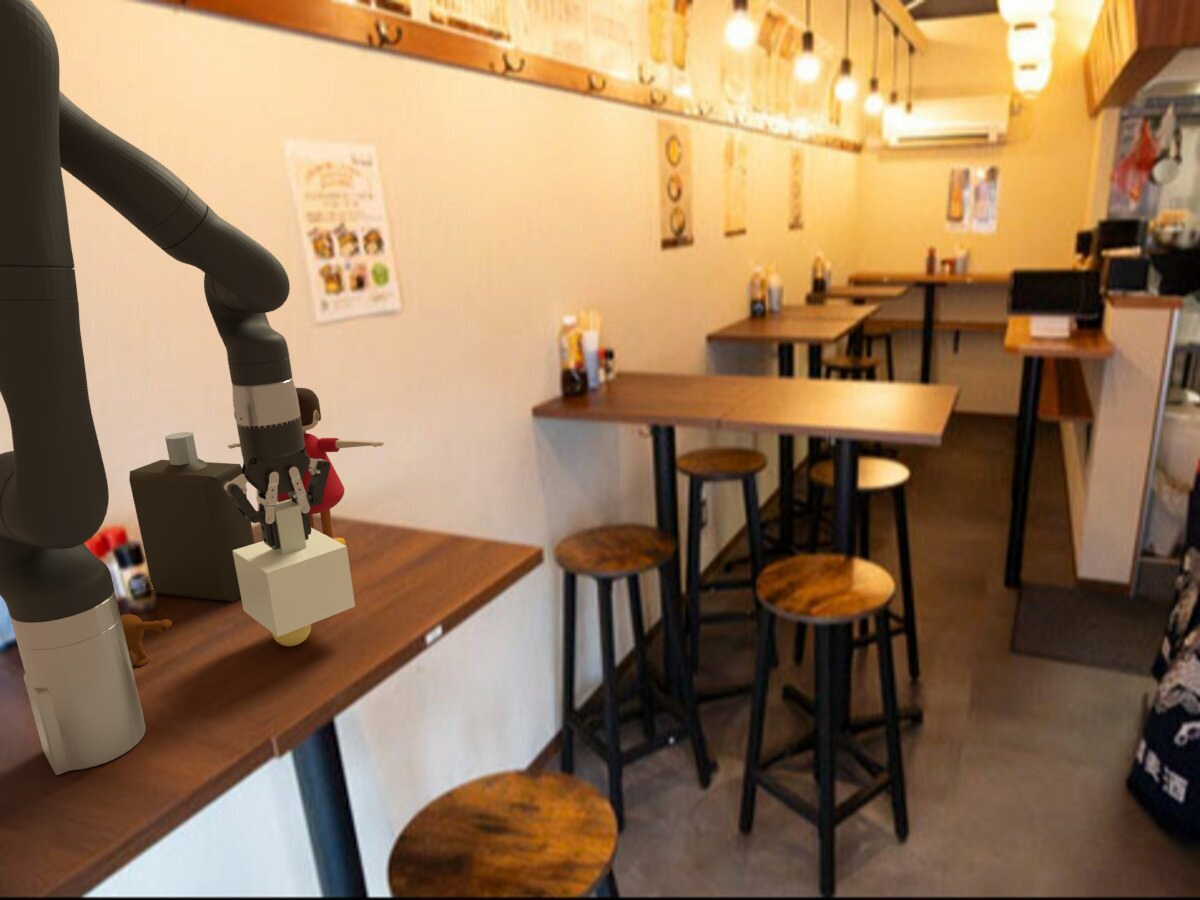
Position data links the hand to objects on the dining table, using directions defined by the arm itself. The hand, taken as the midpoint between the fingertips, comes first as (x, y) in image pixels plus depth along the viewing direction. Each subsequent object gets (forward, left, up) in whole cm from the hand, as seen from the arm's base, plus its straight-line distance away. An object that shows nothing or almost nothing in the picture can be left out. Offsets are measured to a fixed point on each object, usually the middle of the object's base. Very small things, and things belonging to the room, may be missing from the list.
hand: (289, 542), depth 105 cm
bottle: (-3, +27, -14) cm, 31 cm away
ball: (-2, 0, -12) cm, 12 cm away
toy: (+15, +26, -14) cm, 33 cm away
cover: (0, 0, -10) cm, 10 cm away
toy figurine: (-18, +11, -14) cm, 25 cm away
